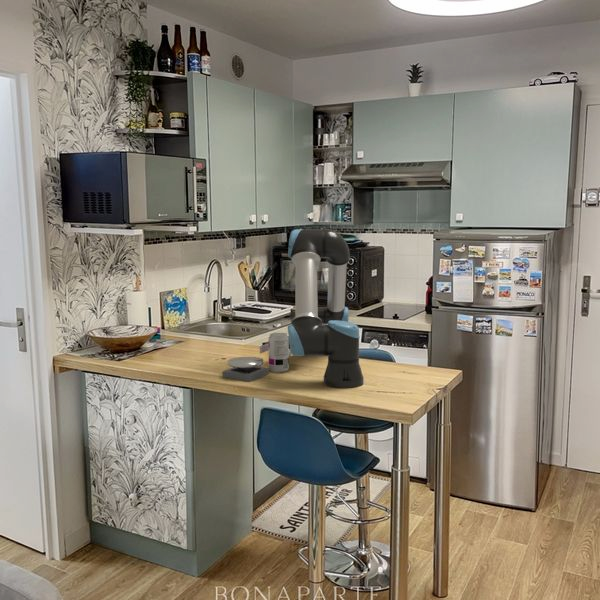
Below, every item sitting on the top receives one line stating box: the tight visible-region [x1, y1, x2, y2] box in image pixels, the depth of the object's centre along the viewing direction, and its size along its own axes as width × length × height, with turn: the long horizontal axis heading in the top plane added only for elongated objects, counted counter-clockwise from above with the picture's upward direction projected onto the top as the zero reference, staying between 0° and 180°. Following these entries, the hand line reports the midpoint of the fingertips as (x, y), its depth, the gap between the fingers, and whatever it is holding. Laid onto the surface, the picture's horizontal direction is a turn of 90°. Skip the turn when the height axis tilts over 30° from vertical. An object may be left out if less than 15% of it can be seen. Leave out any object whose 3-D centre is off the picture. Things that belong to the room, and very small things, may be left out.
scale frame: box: [222, 366, 270, 383], centre depth 252 cm, size 13×13×3 cm
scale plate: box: [227, 356, 264, 373], centre depth 252 cm, size 14×14×4 cm
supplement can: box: [267, 332, 290, 373], centre depth 260 cm, size 8×8×15 cm
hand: (275, 351), depth 257 cm, fingers open, 13 cm apart
